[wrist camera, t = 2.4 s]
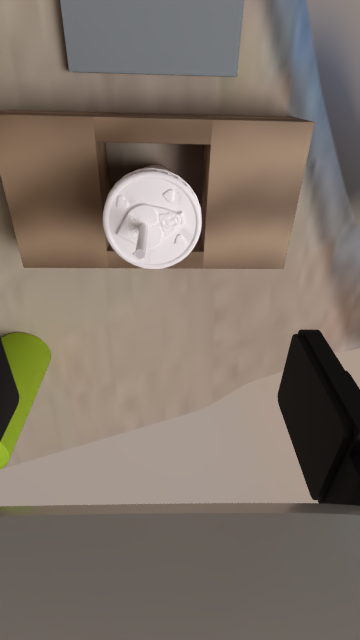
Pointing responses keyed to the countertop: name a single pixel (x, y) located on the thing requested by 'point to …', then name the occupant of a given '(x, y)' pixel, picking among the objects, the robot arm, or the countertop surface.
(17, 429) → the soap dispenser
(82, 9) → the mat
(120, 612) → the robot arm
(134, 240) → the smoothie
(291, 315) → the countertop surface
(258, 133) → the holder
